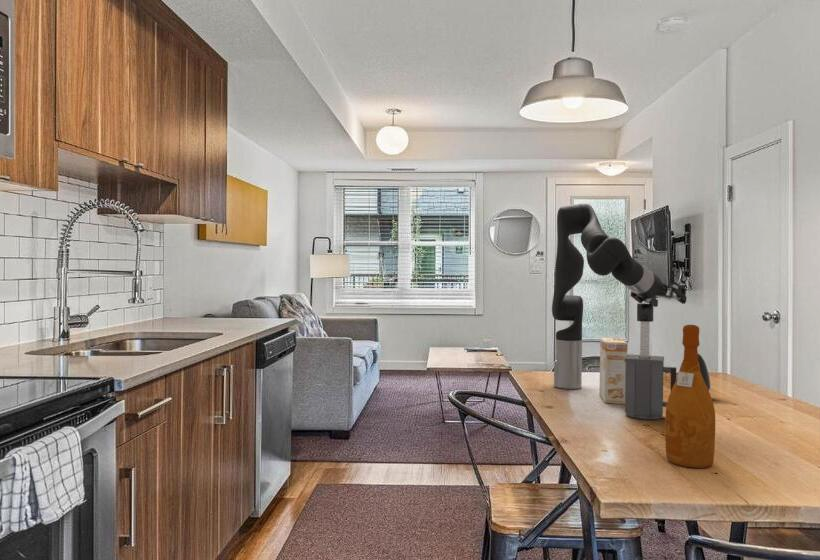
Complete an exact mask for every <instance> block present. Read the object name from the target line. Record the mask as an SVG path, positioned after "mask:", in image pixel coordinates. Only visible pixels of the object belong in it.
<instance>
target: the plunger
mask: <svg viewBox="0 0 820 560" xmlns="http://www.w3.org/2000/svg"><path fill="white" fill-rule="evenodd" d="M636 304H637V305H636V321H637V322H640V327H639V328H640V335H639V336H640V337H639V338H640V339H639V340H640V341H639V344H640V345H639V347H640V348H639V352H640V353H639V355H640V358H649V356H650V332H651V331H650V328H651V327H650V325H651V324H650V322H654V306H653V305H654V304H649V303H645V302H644V303H639V302H637V303H636Z"/></svg>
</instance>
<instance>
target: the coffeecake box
mask: <svg viewBox="0 0 820 560" xmlns="http://www.w3.org/2000/svg"><path fill="white" fill-rule="evenodd" d="M599 340H600V341H599V345H600V346H599V391H598V392H599V394H598V395H599V396H600V397H601V400H603V403H604V404H613V405H615V404H617V405H625V374H626V362H625V357H626V356H627V355H628V344H629V343H628V342H626V341H625V340H623V339H622V338H615V337H600V338H599Z"/></svg>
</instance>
